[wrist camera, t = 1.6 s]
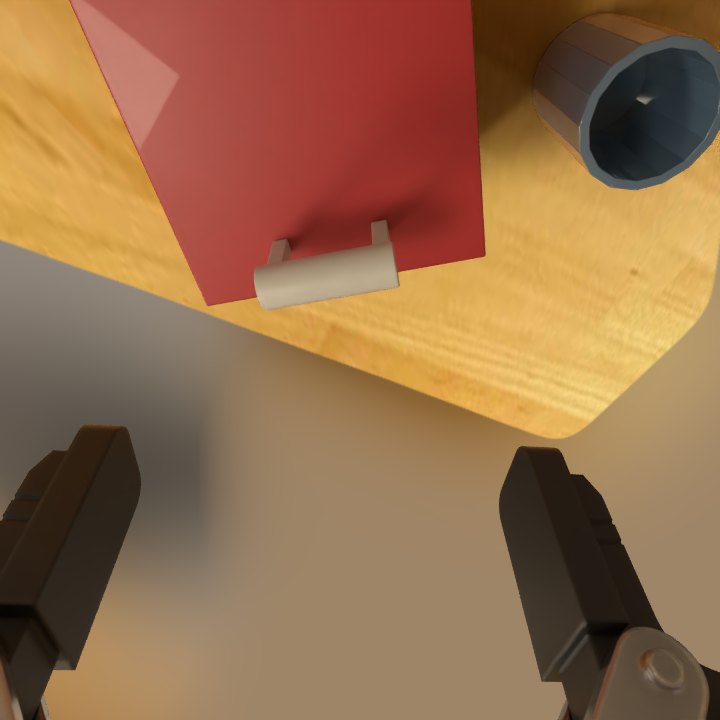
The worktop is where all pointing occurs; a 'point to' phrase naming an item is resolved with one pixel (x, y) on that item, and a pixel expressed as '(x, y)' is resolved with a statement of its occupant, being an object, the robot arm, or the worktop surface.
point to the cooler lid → (301, 136)
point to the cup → (629, 98)
